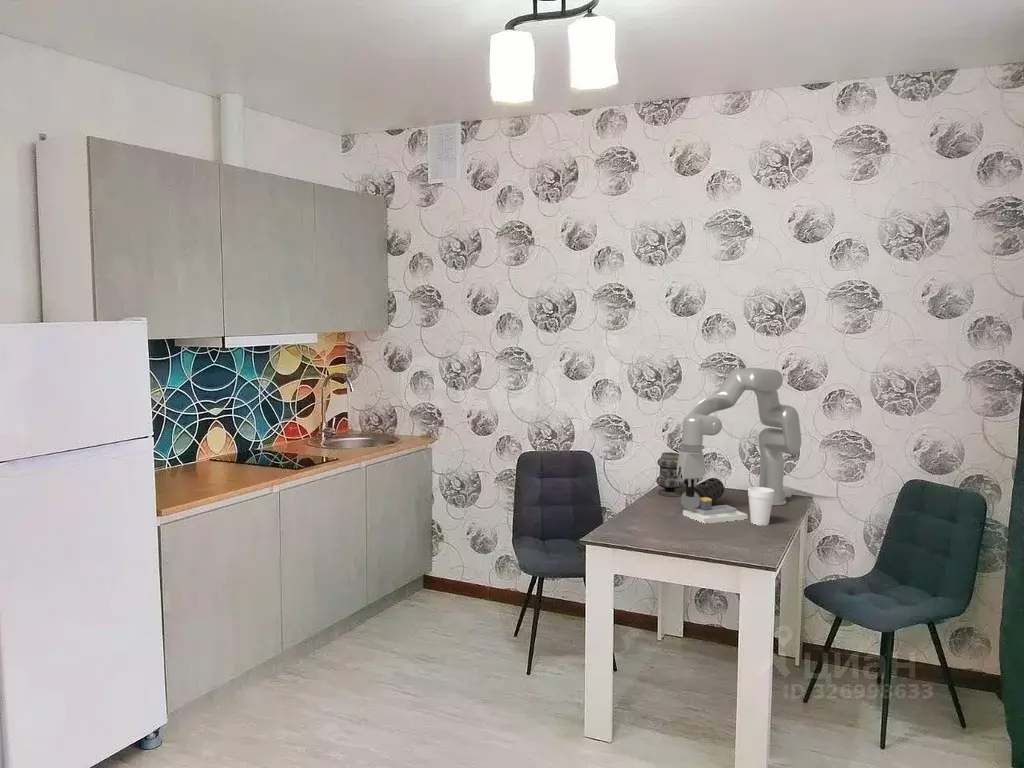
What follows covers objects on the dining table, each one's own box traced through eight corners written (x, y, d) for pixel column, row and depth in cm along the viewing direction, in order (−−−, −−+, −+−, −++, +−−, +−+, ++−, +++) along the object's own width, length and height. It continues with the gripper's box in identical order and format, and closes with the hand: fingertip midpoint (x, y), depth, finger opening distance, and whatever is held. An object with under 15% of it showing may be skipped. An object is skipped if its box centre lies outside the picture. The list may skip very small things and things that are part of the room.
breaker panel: (724, 511, 322) (725, 502, 322) (747, 519, 309) (747, 510, 309) (682, 515, 314) (683, 506, 314) (704, 523, 301) (704, 514, 301)
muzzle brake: (724, 502, 334) (725, 478, 333) (702, 516, 311) (702, 489, 310) (702, 500, 339) (703, 475, 338) (678, 513, 316) (678, 487, 315)
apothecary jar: (686, 497, 346) (688, 456, 344) (658, 497, 345) (660, 455, 344) (680, 491, 358) (681, 451, 356) (653, 490, 357) (654, 451, 356)
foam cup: (772, 521, 307) (773, 487, 306) (773, 527, 298) (774, 493, 297) (746, 519, 309) (747, 486, 308) (746, 525, 300) (748, 491, 299)
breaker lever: (705, 511, 312) (706, 496, 311) (711, 513, 309) (711, 498, 308) (699, 512, 311) (699, 497, 310) (704, 514, 308) (705, 499, 307)
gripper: (702, 446, 311) (700, 493, 313) (669, 448, 305) (667, 495, 307) (714, 449, 304) (712, 497, 306) (681, 451, 299) (679, 499, 300)
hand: (689, 496), depth 306 cm, fingers closed
